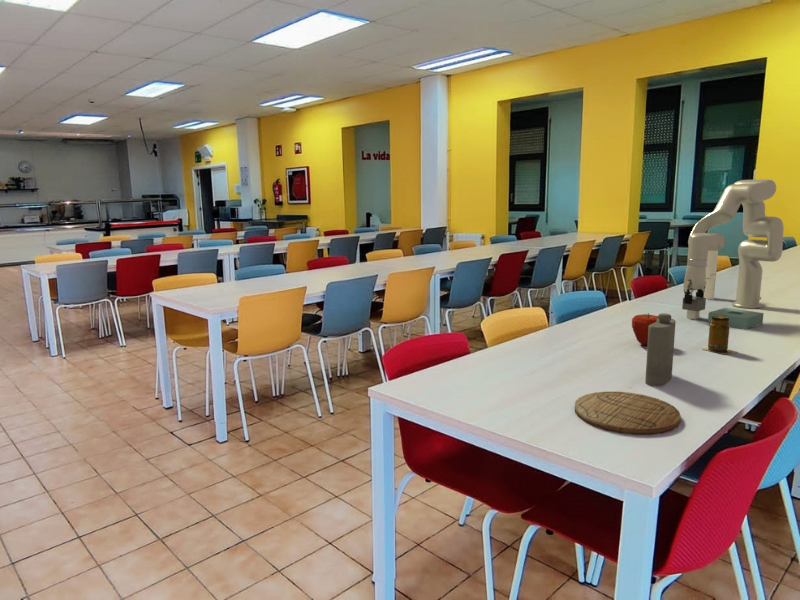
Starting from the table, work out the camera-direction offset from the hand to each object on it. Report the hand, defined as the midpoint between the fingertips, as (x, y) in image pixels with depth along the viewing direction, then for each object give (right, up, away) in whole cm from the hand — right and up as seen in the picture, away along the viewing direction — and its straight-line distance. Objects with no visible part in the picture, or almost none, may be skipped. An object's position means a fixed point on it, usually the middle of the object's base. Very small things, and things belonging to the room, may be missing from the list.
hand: (693, 302), depth 245 cm
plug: (0, -7, +1) cm, 7 cm away
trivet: (-70, -29, -101) cm, 126 cm away
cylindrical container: (+29, +2, +44) cm, 53 cm away
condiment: (-16, -17, -48) cm, 53 cm away
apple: (-38, -16, -39) cm, 56 cm away
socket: (+12, -9, -10) cm, 18 cm away
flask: (-50, -23, -76) cm, 93 cm away
